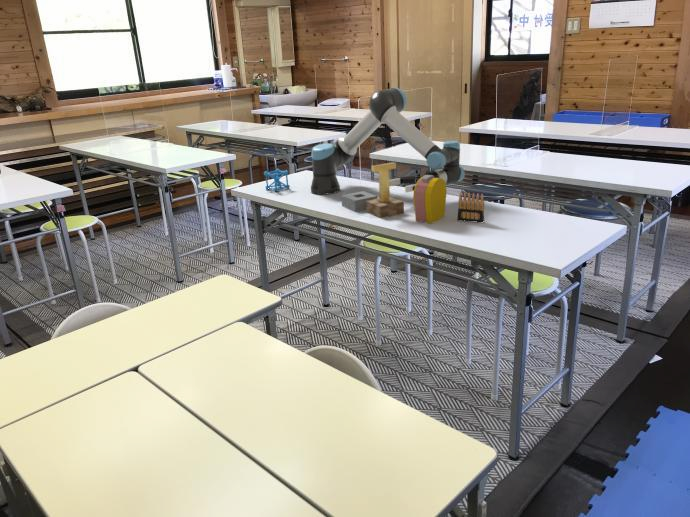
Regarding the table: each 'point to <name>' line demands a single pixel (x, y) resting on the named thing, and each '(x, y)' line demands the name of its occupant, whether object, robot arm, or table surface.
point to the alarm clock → (429, 199)
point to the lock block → (384, 207)
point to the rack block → (357, 200)
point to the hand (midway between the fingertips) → (396, 186)
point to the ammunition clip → (471, 208)
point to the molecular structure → (276, 179)
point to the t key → (384, 180)
